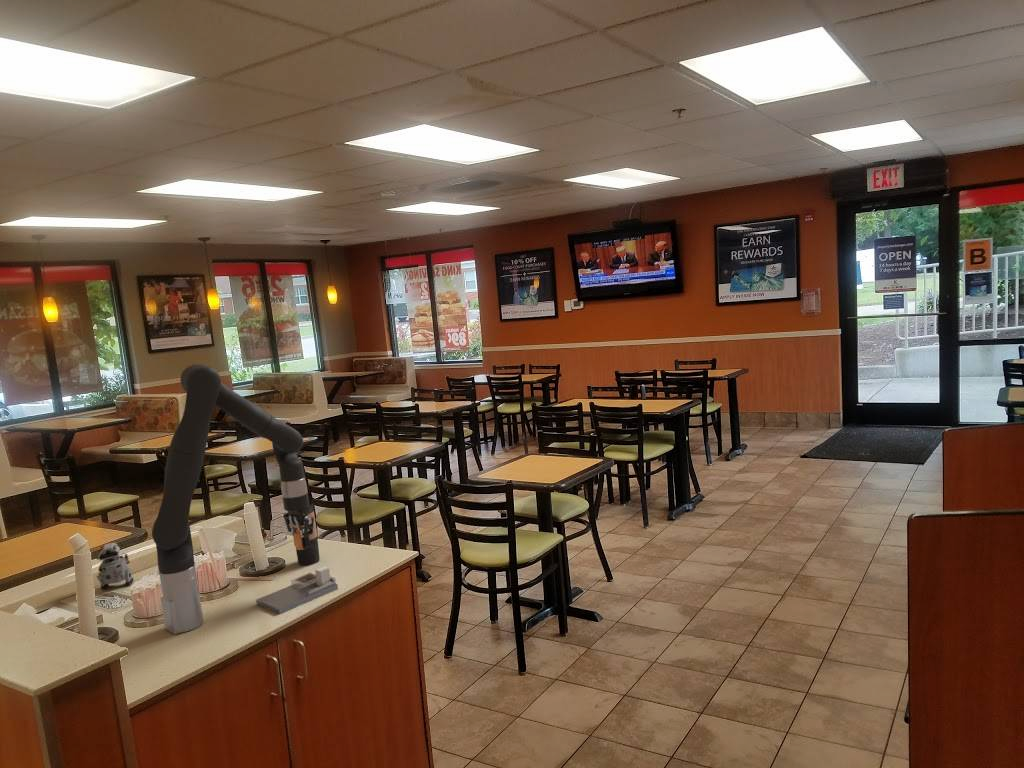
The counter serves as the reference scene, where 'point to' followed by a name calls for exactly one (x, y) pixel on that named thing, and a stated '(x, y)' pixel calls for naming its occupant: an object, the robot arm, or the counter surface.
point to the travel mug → (311, 553)
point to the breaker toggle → (322, 575)
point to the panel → (296, 593)
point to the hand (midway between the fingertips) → (302, 546)
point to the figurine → (113, 566)
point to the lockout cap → (298, 540)
